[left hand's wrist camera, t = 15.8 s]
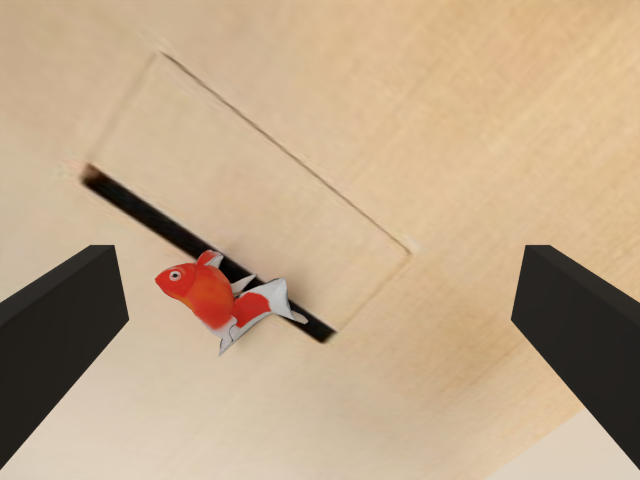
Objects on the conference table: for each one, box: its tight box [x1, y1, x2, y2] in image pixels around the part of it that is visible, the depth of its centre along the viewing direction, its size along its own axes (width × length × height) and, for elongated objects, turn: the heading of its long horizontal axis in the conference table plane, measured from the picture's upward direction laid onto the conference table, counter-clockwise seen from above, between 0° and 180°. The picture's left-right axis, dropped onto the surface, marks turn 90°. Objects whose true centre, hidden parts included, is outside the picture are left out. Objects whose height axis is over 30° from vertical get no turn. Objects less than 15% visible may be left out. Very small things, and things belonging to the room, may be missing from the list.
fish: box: [155, 250, 308, 356], centre depth 39 cm, size 11×16×10 cm
